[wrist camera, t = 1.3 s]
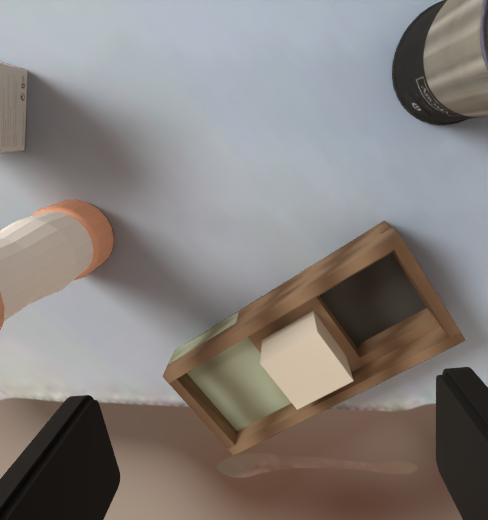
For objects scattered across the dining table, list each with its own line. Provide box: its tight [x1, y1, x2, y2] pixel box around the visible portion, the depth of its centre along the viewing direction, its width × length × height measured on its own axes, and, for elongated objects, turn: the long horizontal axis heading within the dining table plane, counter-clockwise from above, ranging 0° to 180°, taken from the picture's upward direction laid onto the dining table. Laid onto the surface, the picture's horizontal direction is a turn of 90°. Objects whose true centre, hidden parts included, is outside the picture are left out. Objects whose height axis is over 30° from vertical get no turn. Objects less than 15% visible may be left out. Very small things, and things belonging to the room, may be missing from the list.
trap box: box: [163, 221, 465, 455], centre depth 37 cm, size 26×12×4 cm, turn 126°
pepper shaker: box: [0, 200, 114, 329], centre depth 29 cm, size 7×7×19 cm
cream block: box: [260, 311, 354, 410], centre depth 35 cm, size 6×6×4 cm
